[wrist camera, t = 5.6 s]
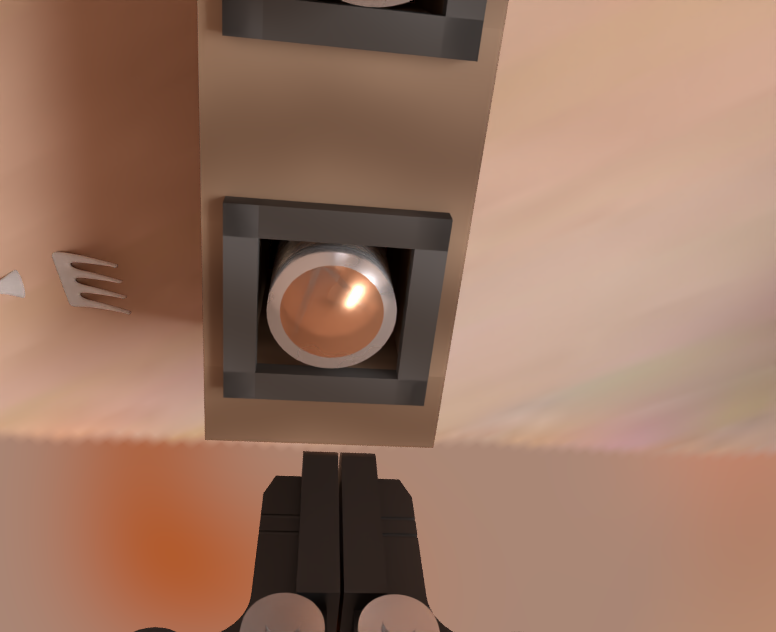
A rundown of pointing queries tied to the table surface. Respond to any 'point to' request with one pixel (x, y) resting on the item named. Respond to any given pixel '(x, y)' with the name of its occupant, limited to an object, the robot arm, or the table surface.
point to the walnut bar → (338, 199)
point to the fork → (69, 282)
